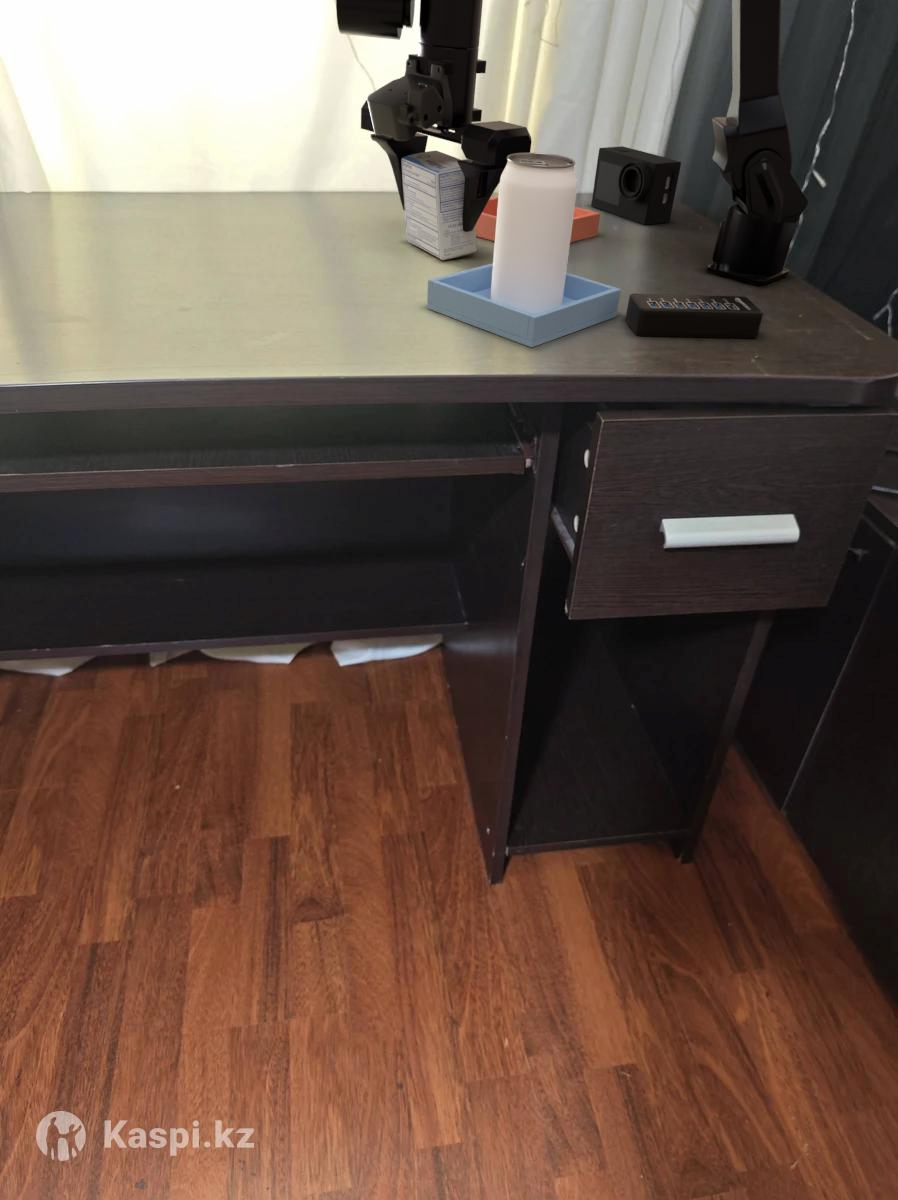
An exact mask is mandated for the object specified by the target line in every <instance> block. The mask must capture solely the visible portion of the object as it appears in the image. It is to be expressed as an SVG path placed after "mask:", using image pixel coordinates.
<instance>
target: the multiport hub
mask: <svg viewBox="0 0 898 1200" xmlns="http://www.w3.org/2000/svg"><path fill="white" fill-rule="evenodd" d="M763 316H764V311H763V310H762V308H760V307H759V306H758V305H756V304H755V303H754V302H753V301H752V300H751V299H750V298H749V297H747V296H743V295H741V296H740V295H739V296H738V295H737V296H736V295H701V294H669V293H668V294H666V293H664V294H663V293H631V294H629V297H628V301H627V308H626V313H625V319H624V320H625V322H626V324H627V325H628V326H629V328H630V329H631V331H632V332H633V333H634V334H635V335H636V336H638V337H659V338H661V337H663V338H664V337H665V338H706V339H707V338H708V339H711V338H712V339H718V338H719V339H757V338H758V334H759V332H760V327H761V324H762V320H763Z"/></svg>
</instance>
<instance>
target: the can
mask: <svg viewBox="0 0 898 1200" xmlns="http://www.w3.org/2000/svg"><path fill="white" fill-rule="evenodd" d="M507 160H508V161H507V165H506V167H505V169H504V171H503V172H502V175H501V178H500V183H499V184H498V186H499V187H498V196H497V197H498V207H497V219H496V231H495V242H494V244H493V245H494V246H493V258H492V263H493V269H492V282H491V297H490V299H491V300H494V301H497V302H500V303H503V304H506V305H508V306H511V307H514V308H517V309H520V310H523V311H525V312H528V313H531V314H533V315H534V314H537V313H540V312H543V311H546V310H549V309H552V308H555V307H558V306H561V305H562V299H563V292H564V285H565V278H566V272H567V270H568V269H567V268H568V262H569V255H570V246H571V243H570V240H571V233H572V225H573V217H574V209H575V207H576V201H577V191H578V180H577V176H576V173H575V165H576V161H575V160H574V159H573V158H570V157H567V156H563V155H559V154H553V153H544V152H530V153H515V154H510V155H508V156H507Z"/></svg>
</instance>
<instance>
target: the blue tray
mask: <svg viewBox="0 0 898 1200" xmlns="http://www.w3.org/2000/svg"><path fill="white" fill-rule="evenodd" d="M492 269H493V262H492V263H488V264H484V265H480V266H477V267H474V268H469V269H465V270H462V271H457V272H454V273H449V274H445V275H442V276H439V277H434V278H431V279H428V280H427V298H426V309H428V310H431V311H434V312H436V313H439V314H440V315H441V314H442V315H443V316H446V317H449V318H452V319H455V320H457V321H460V322H463V323H465V324H468V325H470V326H473V327H476V328H479V329H481V330H484V331H486V332H489V333H491V334H494V335H497V336H499V337H501V338H505V339H507V340H510V341H513V342H516V343H517V344H520V345H523V346H526V347H529V348H535V347H537V346H540V345H544V344H545V343H549V342H552V341H554V340H557V339H560V338H562V337H564V336H568V335H571V334H573V333H576V332H578V331H582V330H584V329H586V328H589V327H592V326H595V325H597V324H601V323H603V322H607V321H608V320H611V319H615V318H616V317H617V314H618V308H619V303H620V297H621V291H622V289H621V288H619V287H615V286H613V285H609V284H606V283H603V282H599V281H596V280H593V279H590V278H586V277H584V276H580V275H577V274H574V273H570V272H567V271H566V278H565V285H564V292H563V299H562V305H561V306H558V307H555V308H552V309H549V310H546V311H543V312H540V313H537V314H534V315H533V314H531V313H528V312H525V311H523V310H520V309H517V308H514V307H511V306H508V305H506V304H503V303H500V302H497V301H494V300H491V299H490V297H491V282H492Z"/></svg>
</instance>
